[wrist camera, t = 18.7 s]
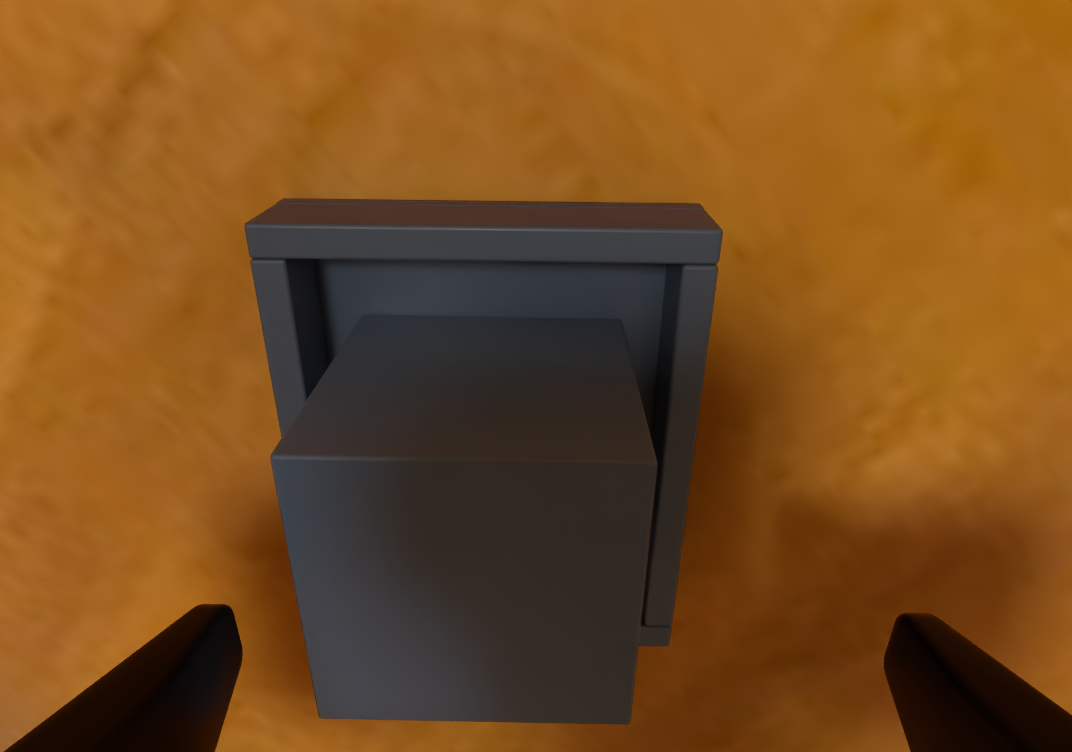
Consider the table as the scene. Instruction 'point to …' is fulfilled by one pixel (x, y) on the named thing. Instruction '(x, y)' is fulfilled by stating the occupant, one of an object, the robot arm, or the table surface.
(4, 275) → the table surface
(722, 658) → the table surface
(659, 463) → the blue tray
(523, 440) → the blue block
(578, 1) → the table surface
